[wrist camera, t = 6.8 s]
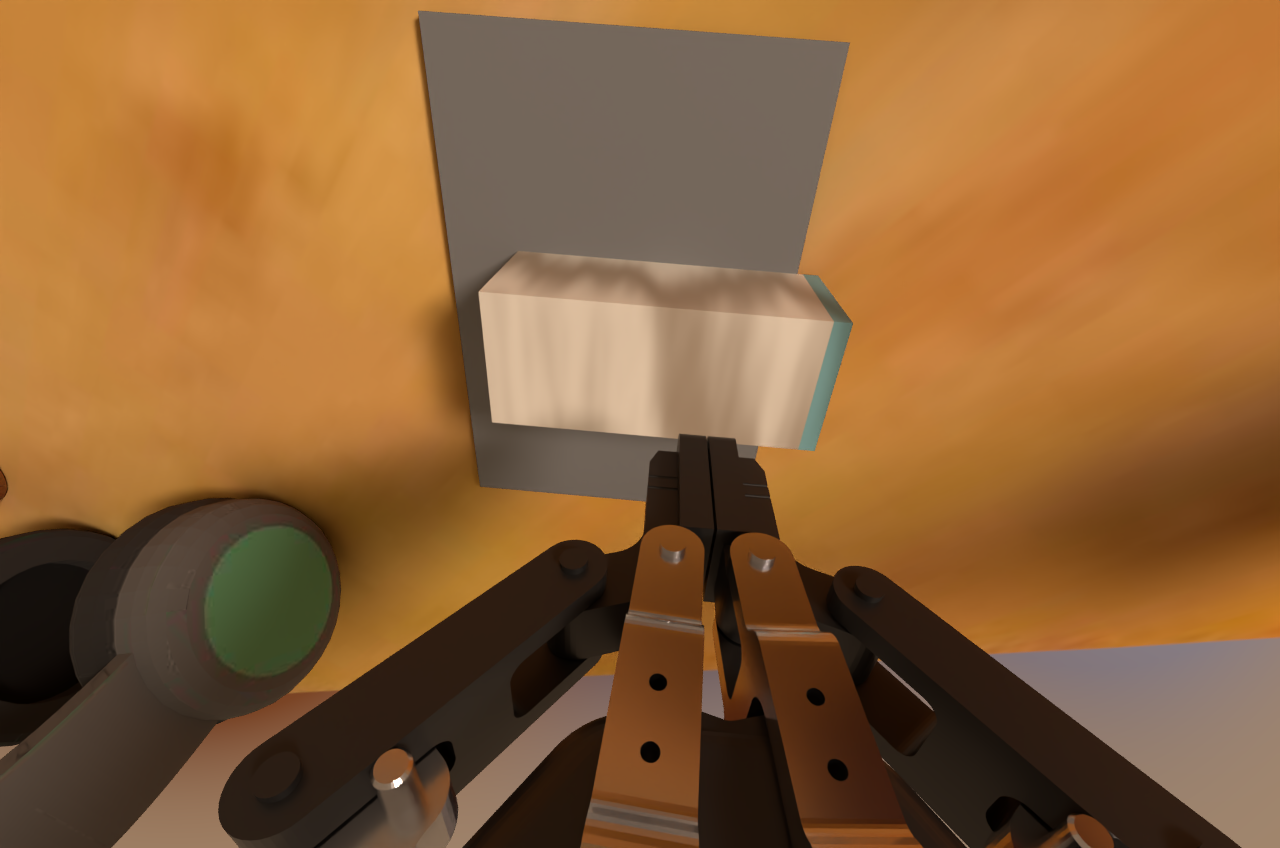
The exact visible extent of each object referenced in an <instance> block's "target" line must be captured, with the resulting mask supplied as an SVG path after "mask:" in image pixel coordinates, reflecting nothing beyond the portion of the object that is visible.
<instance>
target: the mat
mask: <svg viewBox="0 0 1280 848" xmlns="http://www.w3.org/2000/svg"><path fill="white" fill-rule="evenodd" d="M418 14H419V22H420V29H421V37H422V45H423V52H424V60H425V68H426V75H427V83H428V91H429V99H430V106H431V114H432V122H433V129H434V137H435V145H436V152H437V160H438V168H439V175H440V183H441V191H442V198H443V206H444V214H445V221H446V229H447V237H448V244H449V252H450V260H451V267H452V275H453V283H454V290H455V298H456V306H457V313H458V321H459V329H460V336H461V344H462V352H463V359H464V367H465V375H466V382H467V390H468V398H469V405H470V413H471V421H472V428H473V436H474V444H475V451H476V459H477V467H478V474H479V482H480V487H491V488H502V489H513V490H524V491H535V492H547V493H558V494H569V495H580V496H591V497H602V498H613V499H625V500H636V501H646V496H647V486H648V475H649V464H650V460H651V459H652V458H653V457H654V455H655V454H656V453H657V452H658V450H660V451H672V452H676V451H677V443H678V439H674V438H663V437H652V436H640V435H629V434H618V433H606V432H595V431H584V430H572V429H561V428H550V427H538V426H527V425H516V424H504V423H493V422H492V417H491V407H490V398H489V388H488V379H487V369H486V359H485V350H484V340H483V331H482V321H481V311H480V302H479V291H480V290H481V289H482V288H483V287H484V286H485V285H486V283H487V282H488V281H489V280H490V279H491V278H492V277H493V276H494V275H495V274H496V273H497V272H498V271H499V270H500V269H501V268H502V267H503V266H504V265H505V264H506V263H507V262H508V261H509V260H510V259H511V258H512V257H513V256H514V255H515V254H516V253H517V252H518V251H525V252H537V253H550V254H562V255H574V256H586V257H598V258H610V259H622V260H634V261H646V262H658V263H670V264H682V265H694V266H706V267H719V268H731V269H743V270H755V271H767V272H779V273H791V274H797V273H798V269H799V264H800V260H801V255H802V251H803V247H804V242H805V238H806V233H807V229H808V225H809V220H810V216H811V211H812V207H813V203H814V198H815V194H816V189H817V185H818V181H819V176H820V172H821V167H822V163H823V159H824V154H825V150H826V145H827V141H828V137H829V132H830V128H831V123H832V119H833V115H834V110H835V106H836V101H837V97H838V92H839V88H840V84H841V79H842V75H843V70H844V66H845V62H846V57H847V53H848V48H849V44H850V43H848V42H834V41H821V40H807V39H794V38H780V37H767V36H753V35H740V34H726V33H713V32H699V31H686V30H672V29H659V28H645V27H632V26H618V25H605V24H591V23H578V22H564V21H551V20H537V19H524V18H510V17H497V16H483V15H470V14H456V13H442V12H429V11H418ZM757 449H758V446H753V445H742V444H737V450H738V456H739V457H742V458H754V459H755V458H756V453H757Z"/></svg>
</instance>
